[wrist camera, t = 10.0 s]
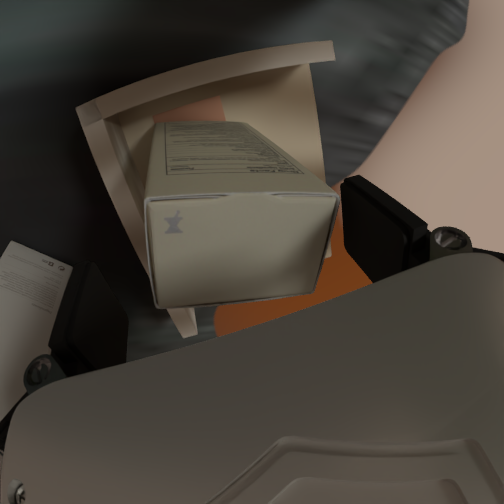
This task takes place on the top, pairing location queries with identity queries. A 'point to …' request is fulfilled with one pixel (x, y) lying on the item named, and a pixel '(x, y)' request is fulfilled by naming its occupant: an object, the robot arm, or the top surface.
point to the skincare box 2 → (231, 217)
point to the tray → (204, 109)
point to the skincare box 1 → (26, 314)
